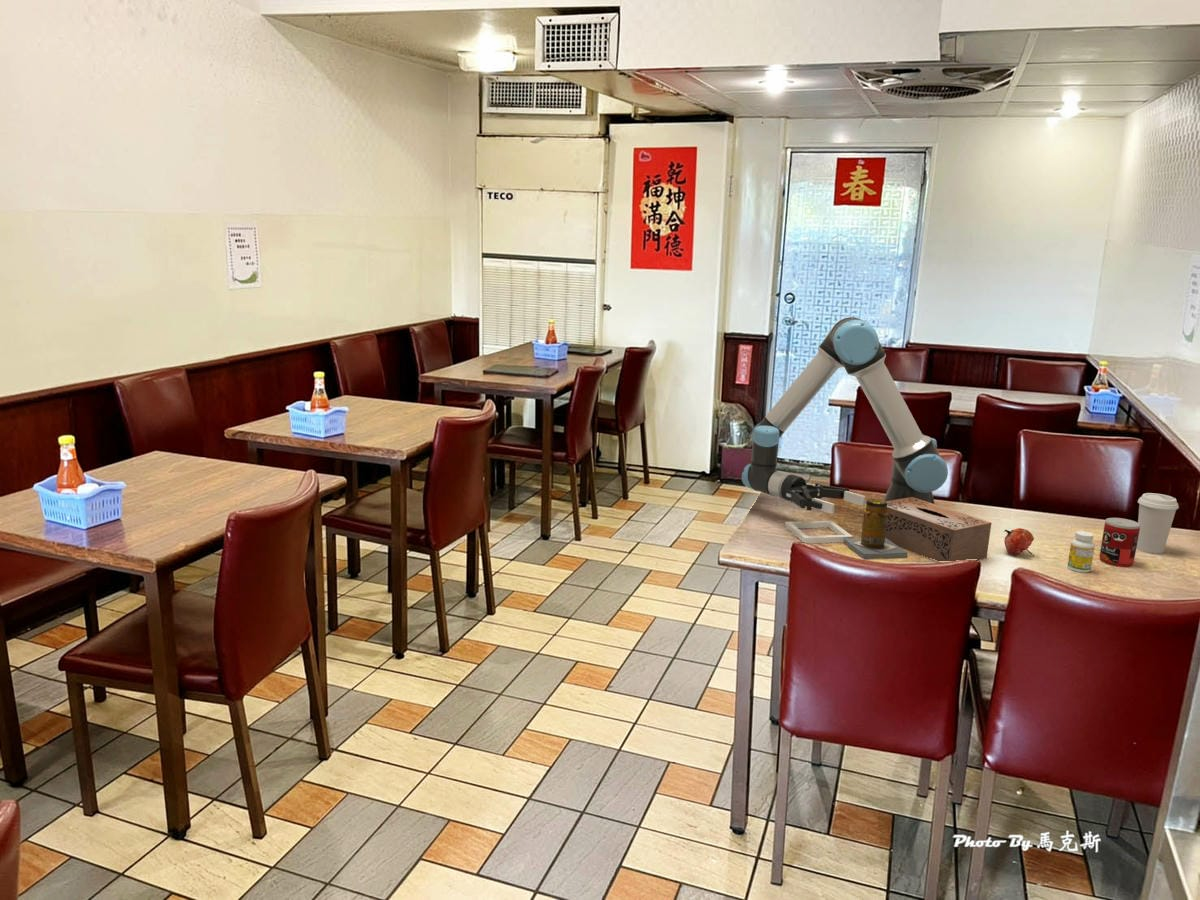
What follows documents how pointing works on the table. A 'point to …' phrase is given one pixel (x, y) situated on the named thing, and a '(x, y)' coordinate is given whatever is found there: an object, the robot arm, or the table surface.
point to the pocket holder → (816, 524)
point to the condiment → (875, 526)
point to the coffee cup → (1155, 521)
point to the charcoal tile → (871, 553)
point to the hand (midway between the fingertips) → (849, 505)
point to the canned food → (1119, 542)
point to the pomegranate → (1018, 541)
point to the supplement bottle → (1081, 552)
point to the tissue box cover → (936, 530)
